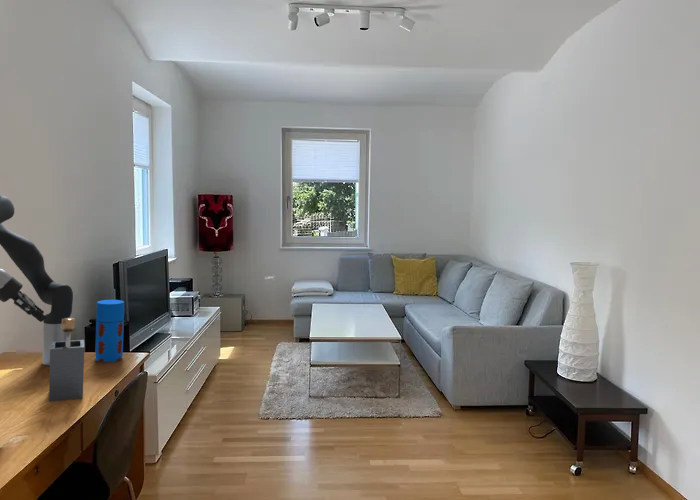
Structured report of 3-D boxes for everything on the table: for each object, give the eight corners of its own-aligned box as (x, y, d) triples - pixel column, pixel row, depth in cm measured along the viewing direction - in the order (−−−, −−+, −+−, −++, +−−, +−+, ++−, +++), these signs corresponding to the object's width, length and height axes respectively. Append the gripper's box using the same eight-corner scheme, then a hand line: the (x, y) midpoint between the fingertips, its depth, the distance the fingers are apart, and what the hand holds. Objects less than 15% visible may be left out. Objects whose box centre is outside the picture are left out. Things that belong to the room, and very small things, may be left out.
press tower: (50, 391, 172) (51, 341, 171) (82, 388, 177) (84, 339, 176) (48, 401, 164) (50, 349, 162) (82, 398, 168) (84, 347, 167)
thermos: (111, 363, 206) (113, 305, 204) (89, 360, 208) (90, 302, 207) (127, 356, 217) (129, 301, 215) (106, 353, 219) (108, 298, 217)
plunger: (56, 388, 172) (57, 317, 170) (77, 386, 175) (79, 316, 173) (55, 395, 166) (56, 321, 164) (77, 393, 169) (79, 320, 167)
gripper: (-9, 289, 160) (32, 321, 168) (-10, 296, 149) (34, 330, 156) (10, 273, 163) (50, 305, 170) (11, 278, 151) (54, 312, 159)
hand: (42, 317), depth 163 cm, fingers open, 8 cm apart
